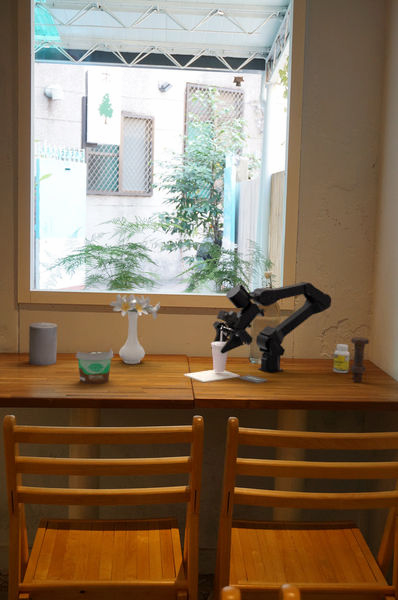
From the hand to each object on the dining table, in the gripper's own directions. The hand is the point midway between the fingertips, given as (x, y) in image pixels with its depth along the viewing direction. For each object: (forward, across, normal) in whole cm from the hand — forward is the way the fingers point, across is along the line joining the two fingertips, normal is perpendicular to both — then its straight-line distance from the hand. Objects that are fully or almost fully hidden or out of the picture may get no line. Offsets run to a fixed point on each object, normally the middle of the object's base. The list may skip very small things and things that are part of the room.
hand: (216, 350), depth 226 cm
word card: (0, +10, +12) cm, 16 cm away
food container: (+35, -5, -24) cm, 42 cm away
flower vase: (+20, -28, -8) cm, 35 cm away
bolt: (-23, +24, +36) cm, 49 cm away
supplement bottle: (-26, +10, +40) cm, 49 cm away
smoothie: (+4, 0, +6) cm, 8 cm away
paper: (+7, 0, +5) cm, 9 cm away
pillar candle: (+41, -38, -30) cm, 63 cm away
